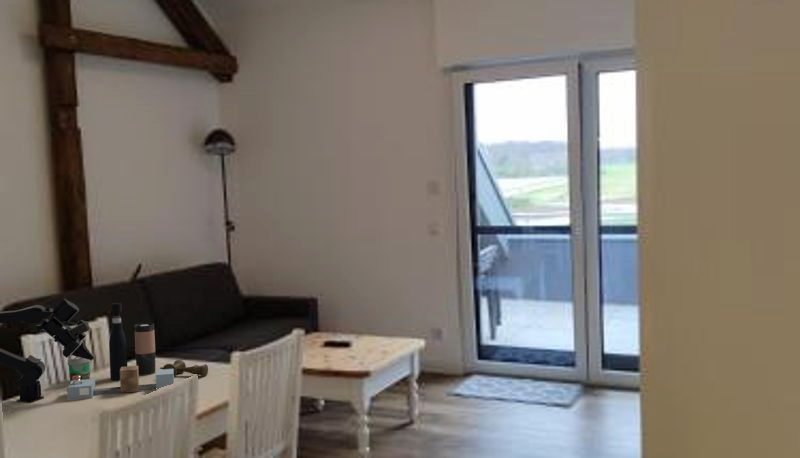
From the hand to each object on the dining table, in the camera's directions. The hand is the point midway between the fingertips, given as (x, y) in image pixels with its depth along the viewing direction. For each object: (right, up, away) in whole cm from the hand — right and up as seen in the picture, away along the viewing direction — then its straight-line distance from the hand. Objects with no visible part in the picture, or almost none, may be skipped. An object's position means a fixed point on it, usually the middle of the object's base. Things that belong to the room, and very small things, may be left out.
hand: (93, 359), depth 263 cm
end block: (+24, -12, +8) cm, 28 cm away
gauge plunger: (-5, -11, -1) cm, 12 cm away
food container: (-12, -12, +19) cm, 26 cm away
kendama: (+25, -12, +25) cm, 37 cm away
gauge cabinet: (-4, -13, 0) cm, 14 cm away
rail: (+11, -13, +4) cm, 17 cm away
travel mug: (+9, -11, +30) cm, 34 cm away
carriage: (+12, -13, +4) cm, 18 cm away
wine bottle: (+1, -12, +22) cm, 25 cm away
